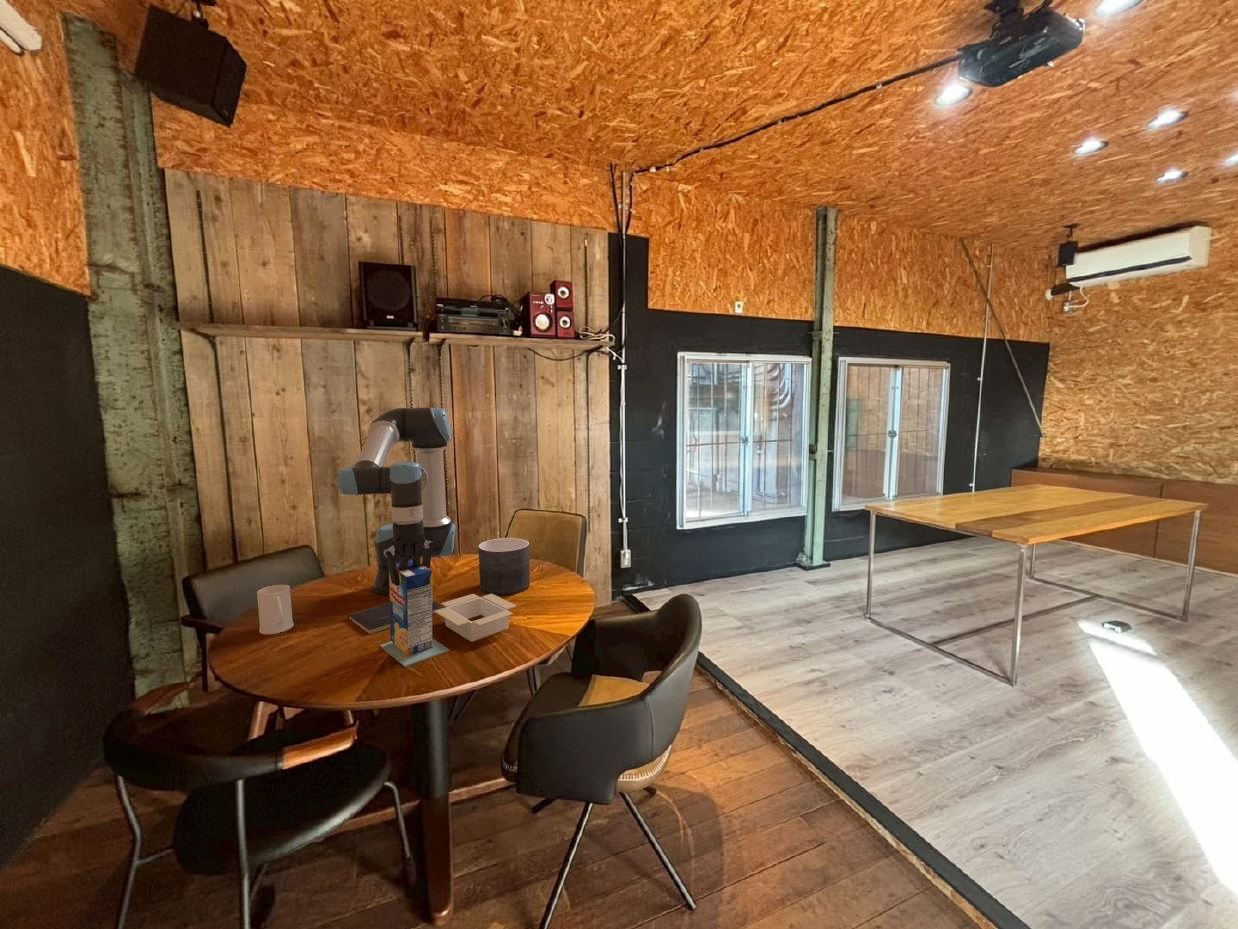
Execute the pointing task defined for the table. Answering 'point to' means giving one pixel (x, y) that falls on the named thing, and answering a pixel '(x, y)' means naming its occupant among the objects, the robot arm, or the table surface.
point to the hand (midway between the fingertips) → (412, 607)
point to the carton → (472, 607)
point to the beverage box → (411, 609)
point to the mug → (274, 609)
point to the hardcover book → (378, 617)
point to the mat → (414, 658)
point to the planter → (504, 566)
